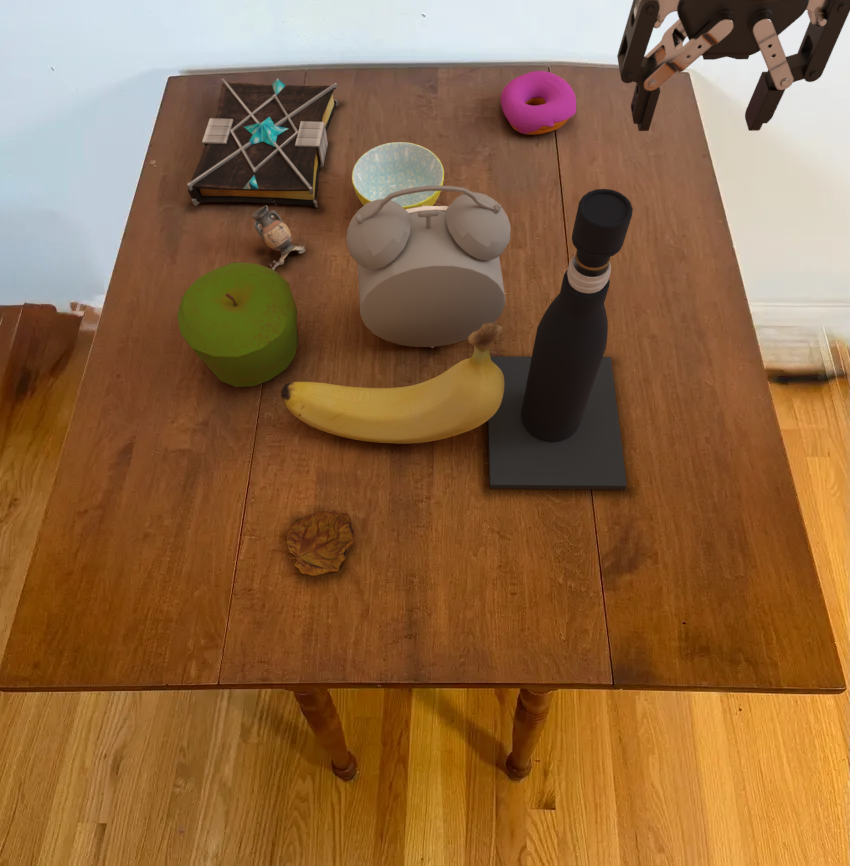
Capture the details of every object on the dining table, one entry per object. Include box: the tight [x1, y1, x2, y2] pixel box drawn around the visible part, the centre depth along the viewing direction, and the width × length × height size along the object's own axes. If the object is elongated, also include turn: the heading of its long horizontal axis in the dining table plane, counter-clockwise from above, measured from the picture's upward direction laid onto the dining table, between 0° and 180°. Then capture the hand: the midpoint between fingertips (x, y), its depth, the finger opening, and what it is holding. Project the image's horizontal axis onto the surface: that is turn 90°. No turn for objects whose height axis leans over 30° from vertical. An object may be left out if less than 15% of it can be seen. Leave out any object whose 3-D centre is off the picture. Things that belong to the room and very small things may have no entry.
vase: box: [251, 205, 307, 270], centre depth 88 cm, size 5×5×6 cm
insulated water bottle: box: [521, 188, 634, 442], centre depth 64 cm, size 6×6×30 cm
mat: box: [487, 356, 628, 491], centre depth 78 cm, size 14×16×1 cm
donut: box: [500, 70, 577, 136], centre depth 100 cm, size 10×10×5 cm
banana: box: [280, 322, 504, 445], centre depth 69 cm, size 23×6×20 cm, turn 84°
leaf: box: [285, 509, 355, 577], centre depth 71 cm, size 6×7×2 cm
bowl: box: [351, 141, 445, 210], centre depth 91 cm, size 11×12×6 cm
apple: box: [177, 261, 299, 388], centre depth 78 cm, size 12×12×11 cm
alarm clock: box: [345, 185, 512, 349], centre depth 75 cm, size 16×9×22 cm, turn 94°
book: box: [186, 77, 339, 209], centre depth 98 cm, size 22×17×5 cm
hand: (696, 124), depth 56 cm, fingers open, 8 cm apart
